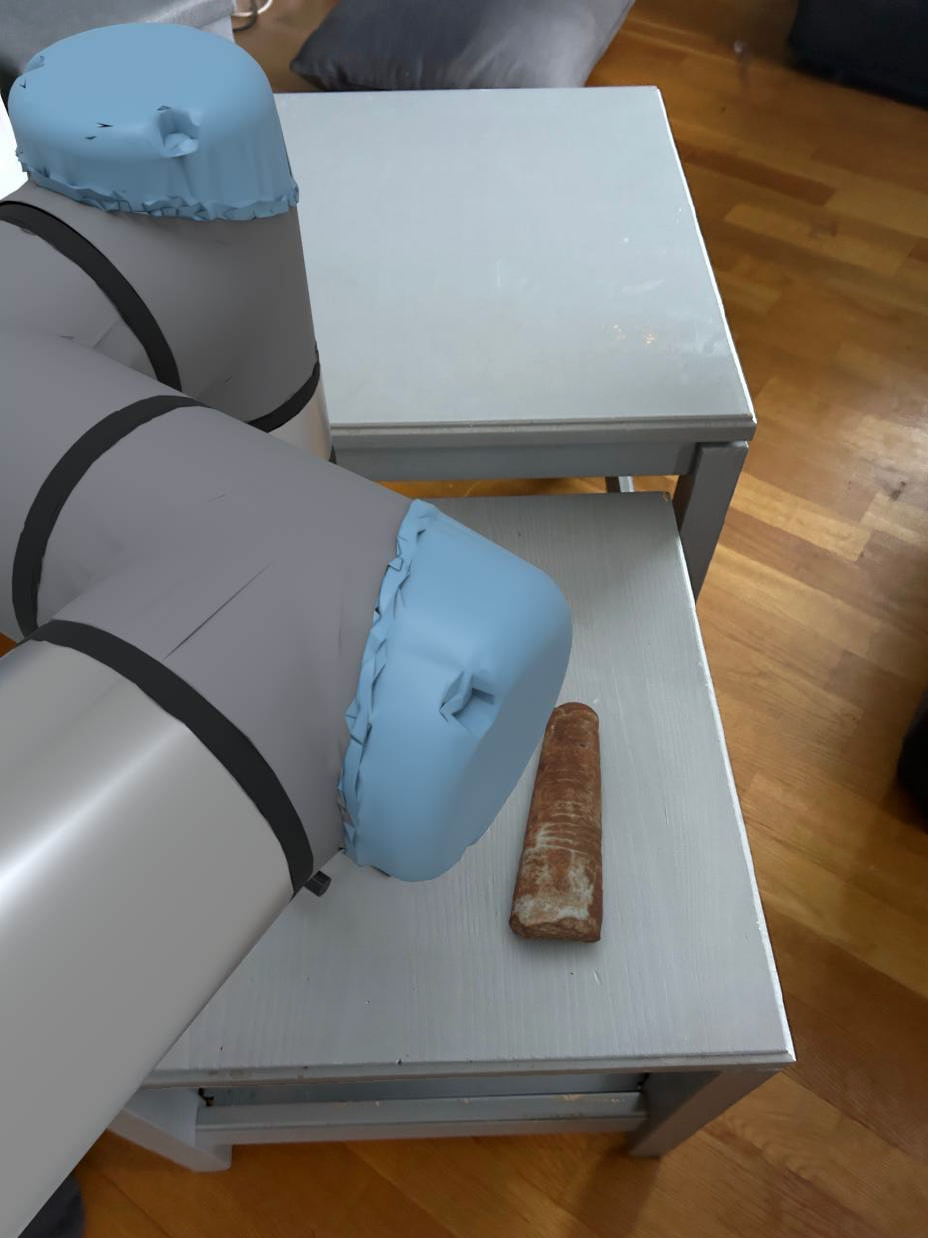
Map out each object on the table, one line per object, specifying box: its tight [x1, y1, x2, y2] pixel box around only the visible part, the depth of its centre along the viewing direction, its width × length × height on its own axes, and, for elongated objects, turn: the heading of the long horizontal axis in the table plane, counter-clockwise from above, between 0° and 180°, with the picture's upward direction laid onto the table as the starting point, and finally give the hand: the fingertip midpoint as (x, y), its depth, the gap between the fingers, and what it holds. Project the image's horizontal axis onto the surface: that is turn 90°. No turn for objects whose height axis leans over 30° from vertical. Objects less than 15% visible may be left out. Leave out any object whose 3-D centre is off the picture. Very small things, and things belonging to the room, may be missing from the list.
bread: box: [508, 701, 604, 944], centre depth 69 cm, size 6×19×6 cm, turn 170°
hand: (312, 712), depth 56 cm, fingers open, 13 cm apart
